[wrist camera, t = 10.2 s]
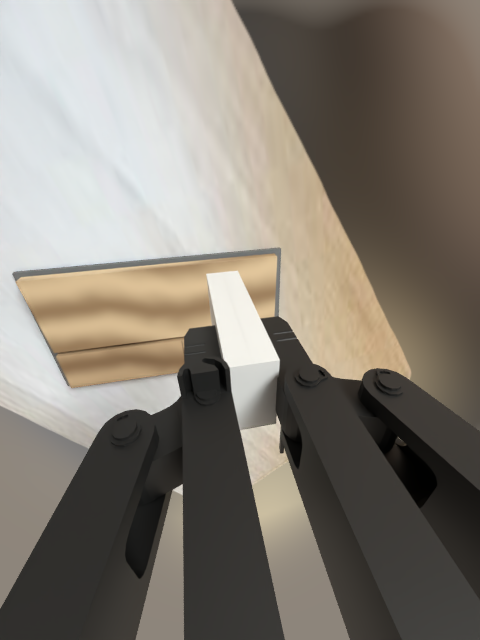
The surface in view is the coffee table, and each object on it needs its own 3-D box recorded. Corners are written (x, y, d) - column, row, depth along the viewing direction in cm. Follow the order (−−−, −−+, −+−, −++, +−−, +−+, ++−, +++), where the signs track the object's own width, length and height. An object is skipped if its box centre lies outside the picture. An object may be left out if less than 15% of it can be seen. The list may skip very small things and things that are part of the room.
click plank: (21, 277, 30) (15, 281, 29) (274, 253, 34) (277, 256, 33) (57, 347, 35) (53, 353, 34) (271, 320, 39) (274, 324, 38)
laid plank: (59, 351, 36) (55, 357, 35) (271, 324, 40) (273, 328, 38) (74, 382, 39) (71, 388, 37) (270, 353, 42) (273, 358, 41)
